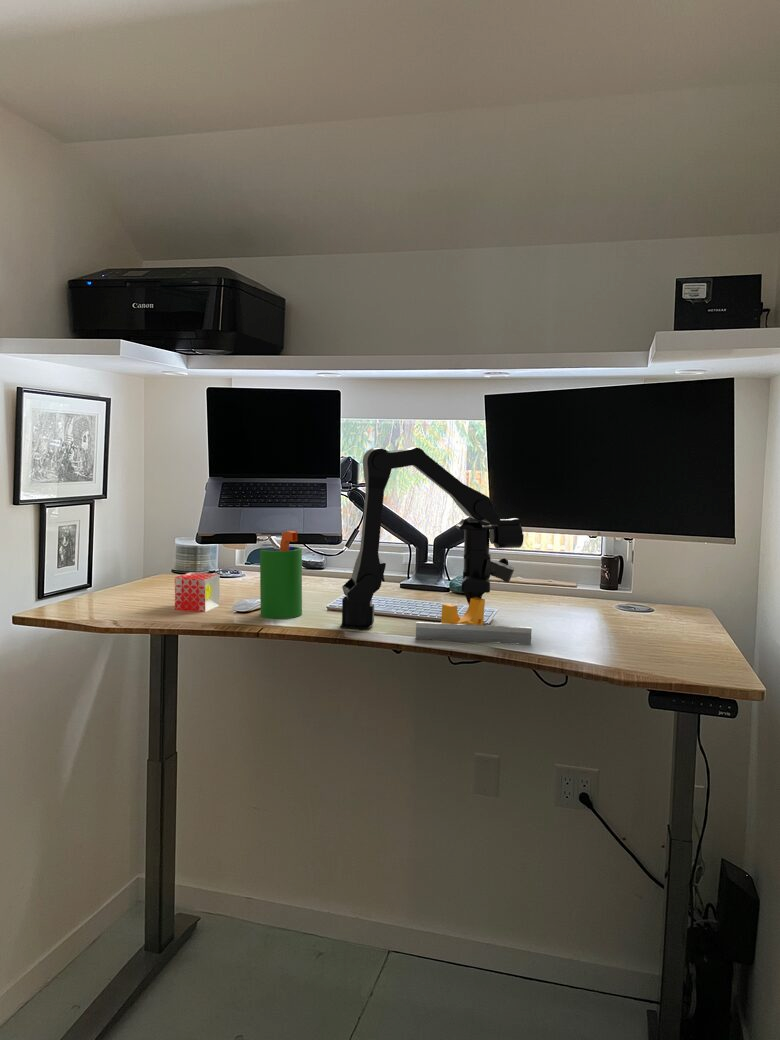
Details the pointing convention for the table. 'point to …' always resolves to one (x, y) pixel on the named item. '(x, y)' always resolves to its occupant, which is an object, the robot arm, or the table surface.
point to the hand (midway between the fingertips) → (475, 615)
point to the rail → (473, 632)
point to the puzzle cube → (197, 592)
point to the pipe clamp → (471, 616)
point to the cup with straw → (281, 580)
